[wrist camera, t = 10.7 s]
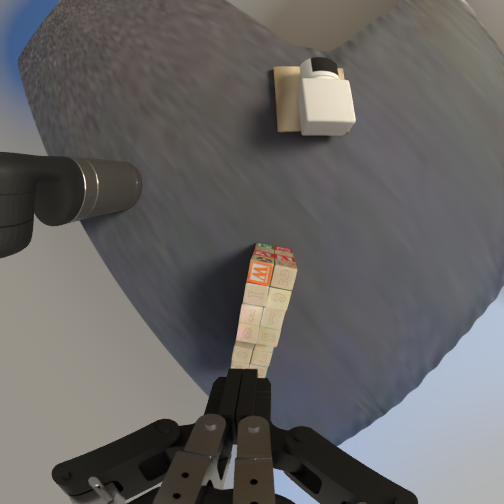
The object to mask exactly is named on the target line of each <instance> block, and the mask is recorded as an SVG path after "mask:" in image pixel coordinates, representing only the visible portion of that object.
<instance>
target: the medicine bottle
mask: <svg viewBox="0 0 504 504" xmlns="http://www.w3.org/2000/svg"><path fill="white" fill-rule="evenodd" d="M300 73H301V84H300V89H299V94H298V105H299V115H300V125H301V134H302V135H331V136H344V135H345V134H346V133H347V131H348V130H349V129H350V128H351V127H352V126H353V124H354V123H355V121H356V120H355V113H354V107H353V101H352V95H351V90H350V84H349V81H348V80H340V79H339V74H338V69H337V65H336V63H335V62H333V61H332V60H330V59H327V58H322V57H317V58H311V59H308V60H306V61H304V62H303V63H302V64H301V65H300Z"/></svg>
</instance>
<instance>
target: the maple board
mask: <svg viewBox="0 0 504 504" xmlns="http://www.w3.org/2000/svg"><path fill="white" fill-rule="evenodd" d="M337 69H338V68H337ZM338 74H339V79H340V80H344V74H343V69H338ZM274 81H275V95H276V111H277V128H278V132H301V125H300V115H299V105H298V94H299V89H300V84H301V73H300V67H274ZM349 132H350V129H349V130H348V131H347V133H349Z"/></svg>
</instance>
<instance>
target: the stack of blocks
mask: <svg viewBox="0 0 504 504" xmlns="http://www.w3.org/2000/svg"><path fill="white" fill-rule="evenodd" d="M296 274H297V267H296V262H295V259H294V257H293V253H292V250H291V249H287V248H282V247H277V246H271V245H267V244H262V243H256V246H255V250H254V252H253V255H252V258H251V261H250V266H249V272H248V277H247V281H246V286H245V292H244V298H243V302H242V306H241V312H240V318H239V325H238V331H237V336H236V341H235V345H234V349H233V354H232V359H231V360H232V362H231V368H239V369H258V378H265V377H266V373H267V369H268V366H269V363H270V360H271V356H272V352H273V349H274V347H277V344H278V340H279V336H280V333H281V327H282V323H283V319H284V315H285V311H286V310H287V307H288V303H289V299H290V296H291V290H292V289H293V285H294V281H295V278H296Z"/></svg>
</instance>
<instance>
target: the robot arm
mask: <svg viewBox="0 0 504 504" xmlns="http://www.w3.org/2000/svg"><path fill="white" fill-rule="evenodd" d="M141 189H142V182H141V177H140V174H139V172H138V170H137V169H136V168H135V167H134V166H133V165H131V164H130V163H127V162H119V161H111V160H101V159H90V158H76V157H58V156H35V155H27V154H18V153H8V152H0V258H4V257H7V256H10V255H13V254H15V253H17V252H19V251H21V250H23V249H24V248H26V247H27V246H28V245H29V243H30V241H31V238H32V232H33V221H34V213H35V215H36V216H37V218H38V219H39V220H40V221H41V222H43V223H44V224H46V225H49V226H59V225H63V224H66V223H70V222H74V221H79V220H83V219H87V218H91V217H96V216H100V215H105V214H109V213H114V212H119V211H124V210H127V209H129V208H131V207H132V206H133V205H134V204H135V203H136V202H137V200H138V199H139V196H140V194H141ZM233 444H237V457H236V458H235V469H234V488H233V489H226V490H223V485H224V481H225V477H226V474H227V470H228V467H229V463H230V459H231V451H232V446H233ZM273 468H275V469H279V470H283V471H284V473H285V474H286V475H287V476H288V477H289V478H290V479H291V480H292V481H294V482H295V483H296V484H297V485H298V486H299V487H301V488H302V489H303V490H304V491H305V492H306V493H308V494H309V495H310V496H311V497H313V498H314V499H315V500H316V501H318V502H319V503H320V504H418V499H417V497H416V496H415V495H414V494H413V493H412V492H410V491H408V490H407V489H405V488H403V487H401V486H399V485H397V484H396V483H394V482H392V481H390V480H389V479H387V478H385V477H383V476H382V475H380V474H378V473H377V472H375V471H374V470H372V469H370V468H369V467H367V466H365V465H364V464H362V463H361V462H359V461H358V460H356V459H354V458H353V457H352V456H350V455H349V454H347V453H346V452H344V451H342V450H341V449H340V448H338V447H337V446H335V445H334V444H332V443H331V442H330V441H328V440H327V439H325V438H324V437H323V436H321V435H320V434H318V433H317V432H316V431H314V430H313V429H311V428H309V427H305V426H298V427H294V428H292V429H290V430H289V431H287V430H283V429H279V428H277V427H276V426H274V425H273V424H272V422H271V383H270V382H269V380H268V378H258V369H239V368H229V370H228V374H227V377H219V378H218V379H217V380H216V381H215V382H214V383H213V386H212V391H211V393H210V396H209V400H208V403H207V406H206V410H205V413H204V415H203V416H201V417H200V418H199V419H198V420H197V421H196V423H194V424H190V425H183V426H178V424H177V423H176V422H175V421H173V420H170V419H161V420H157V421H155V422H153V423H151V424H149V425H147V426H146V427H144V428H141V429H139V430H137V431H135V432H134V433H131V434H129V435H127V436H125V437H123V438H121V439H118V440H116V441H114V442H112V443H110V444H107V445H105V446H103V447H100V448H98V449H96V450H93V451H91V452H88V453H86V454H84V455H81V456H79V457H76V458H73V459H71V460H68V461H65V462H63V463H60V464H58V465H56V466H55V467H54V468H53V470H52V478H53V480H54V481H55V482H56V483H57V484H58V485H59V486H60V487H61V488H62V490H63V491H64V492H65V493H66V494H67V495H68V496H69V497H70V499H71V501H72V503H73V504H125V500H127V499H129V498H131V497H133V496H135V495H137V494H139V493H141V492H143V491H145V490H147V489H149V488H151V487H153V486H155V485H157V484H158V483H160V482H162V481H163V482H162V484H161V486H160V487H157V488H155V489H153V490H151V491H149V492H147V493H146V494H144V495H142V496H140V497H138V498H137V499H134V500H133V501H131V502H129V503H127V504H295V503H294V502H292V501H291V500H289V499H287V498H285V497H283V496H280V495H278V494H275V490H274V476H273Z"/></svg>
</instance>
